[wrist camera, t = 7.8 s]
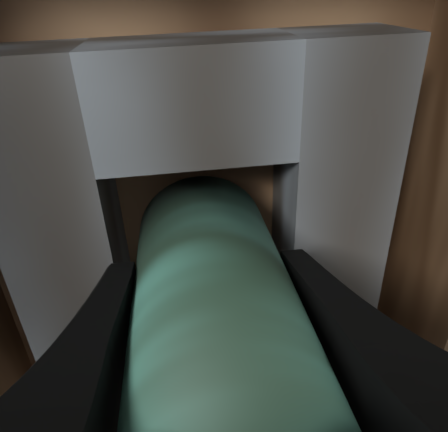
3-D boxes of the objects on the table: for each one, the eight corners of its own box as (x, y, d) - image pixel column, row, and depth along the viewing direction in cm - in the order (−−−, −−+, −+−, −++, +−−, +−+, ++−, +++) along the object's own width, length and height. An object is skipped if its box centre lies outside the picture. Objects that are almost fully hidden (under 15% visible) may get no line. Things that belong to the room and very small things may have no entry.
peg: (147, 288, 14) (130, 569, 7) (132, 181, 12) (87, 415, 5) (261, 276, 15) (352, 531, 7) (263, 171, 13) (385, 376, 6)
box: (30, 417, 20) (-5, 532, 16) (-232, -188, 9) (-560, -332, 5) (380, 370, 22) (432, 463, 18) (505, -191, 11) (720, -301, 7)
